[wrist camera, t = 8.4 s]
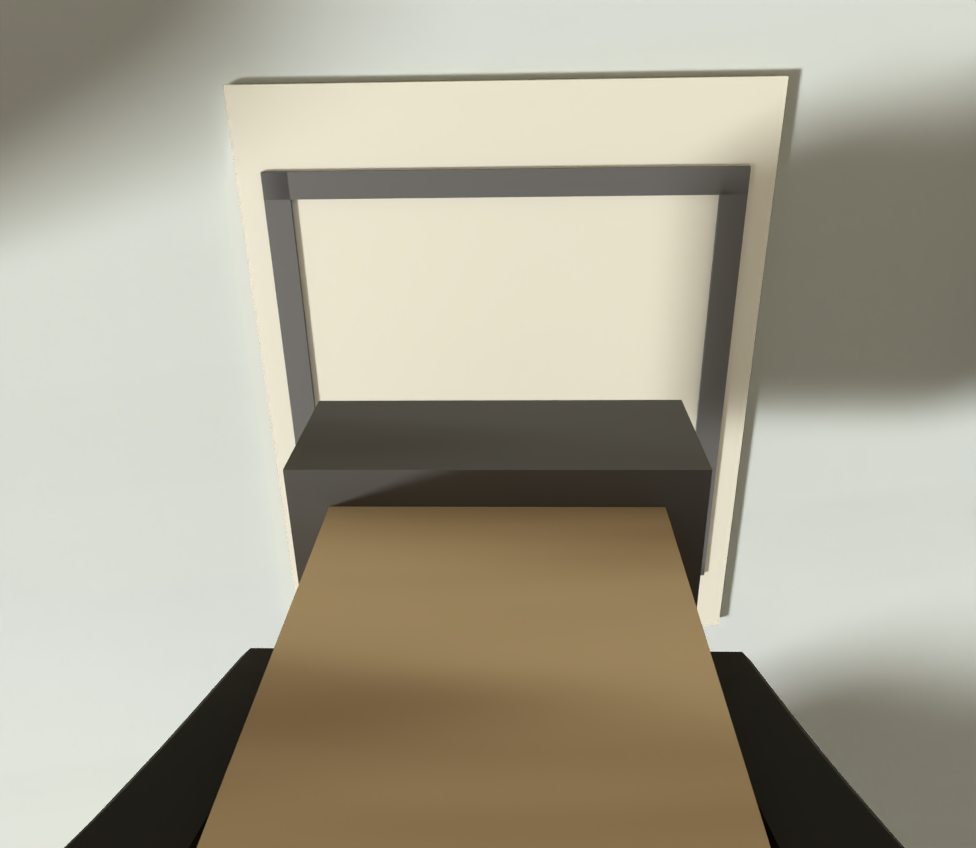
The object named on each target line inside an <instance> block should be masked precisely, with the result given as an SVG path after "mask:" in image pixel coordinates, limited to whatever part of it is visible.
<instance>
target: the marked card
mask: <svg viewBox="0 0 976 848" xmlns="http://www.w3.org/2000/svg"><path fill="white" fill-rule="evenodd" d="M788 78H789V76H736V77H674V78H611V79H548V80H485V81H422V82H360V83H297V84H234V85H223V89H224V96H225V103H226V110H227V118H228V125H229V132H230V139H231V146H232V153H233V160H234V167H235V174H236V181H237V188H238V195H239V202H240V209H241V216H242V223H243V230H244V237H245V244H246V251H247V258H248V266H249V273H250V280H251V287H252V294H253V301H254V308H255V315H256V322H257V329H258V336H259V343H260V350H261V357H262V364H263V371H264V378H265V385H266V392H267V399H268V406H269V414H270V421H271V428H272V435H273V442H274V449H275V456H276V463H277V470H278V477H279V484H280V491H281V498H282V505H283V512H284V519H285V526H286V533H287V540H288V547H289V554H290V562H291V569H292V576H293V583H294V590H295V593H296V591H297V588H298V586H299V583H298V576H297V569H296V561H295V554H294V547H293V540H292V533H291V525H290V518H289V511H288V504H287V497H286V489H285V482H284V475H283V468H284V467H285V465H286V463H287V461H288V459H289V457H290V455H291V453H292V451H293V449H294V448H295V446H296V444H297V442H298V440H299V438H300V436H301V434H302V432H303V430H304V428H305V427H306V425H307V423H308V421H309V419H310V417H311V415H312V413H313V411H314V409H315V408H316V406H317V404H318V402H319V401H405V400H682V402H683V404H684V407H685V409H686V411H687V413H688V416H689V418H690V420H691V422H692V425H693V427H694V429H695V432H696V434H697V436H698V438H699V441H700V443H701V445H702V447H703V450H704V452H705V454H706V457H707V459H708V461H709V463H710V466H711V468H712V478H711V487H710V496H709V505H708V514H707V522H706V531H705V540H704V549H703V558H702V567H701V576H700V584H699V593H698V602H697V611H698V614H699V617H700V620H701V624H702V625H719V617H720V609H721V602H722V594H723V586H724V578H725V570H726V562H727V555H728V547H729V539H730V531H731V523H732V516H733V508H734V500H735V492H736V484H737V476H738V469H739V461H740V453H741V445H742V437H743V430H744V422H745V414H746V406H747V398H748V390H749V383H750V375H751V367H752V359H753V351H754V344H755V336H756V328H757V320H758V312H759V304H760V297H761V289H762V281H763V273H764V265H765V258H766V250H767V242H768V234H769V226H770V218H771V211H772V203H773V195H774V187H775V179H776V172H777V164H778V156H779V148H780V140H781V132H782V125H783V117H784V109H785V101H786V93H787V86H788Z"/></svg>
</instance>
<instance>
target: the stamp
mask: <svg viewBox="0 0 976 848" xmlns="http://www.w3.org/2000/svg"><path fill="white" fill-rule="evenodd" d="M283 475H284V482H285V489H286V497H287V504H288V511H289V518H290V525H291V533H292V540H293V547H294V554H295V561H296V569H297V576H298V583H299V586H298V588H297V591H296V593H295V596H294V599H293V601H292V604H291V606H290V609H289V611H288V614H287V617H286V619H285V622H284V624H283V627H282V629H281V632H280V635H279V637H278V640H277V642H276V645H275V647H274V650H273V653H272V655H271V658H270V660H269V663H268V665H267V668H266V671H265V673H264V676H263V678H262V681H261V683H260V686H259V689H258V691H257V694H256V696H255V699H254V701H253V704H252V707H251V709H250V712H249V714H248V717H247V719H246V722H245V725H244V727H243V730H242V732H241V735H240V737H239V740H238V743H237V745H236V748H235V750H234V753H233V755H232V758H231V761H230V763H229V766H228V768H227V771H226V773H225V776H224V779H223V781H222V784H221V786H220V789H219V791H218V794H217V797H216V799H215V802H214V804H213V807H212V809H211V812H210V815H209V817H208V820H207V822H206V825H205V827H204V830H203V833H202V835H201V838H200V840H199V843H198V845H197V848H771V847H770V844H769V841H768V837H767V834H766V831H765V828H764V824H763V821H762V818H761V815H760V811H759V808H758V805H757V802H756V798H755V795H754V792H753V789H752V786H751V782H750V779H749V776H748V773H747V769H746V766H745V763H744V760H743V756H742V753H741V750H740V747H739V743H738V740H737V737H736V734H735V731H734V727H733V724H732V721H731V718H730V714H729V711H728V708H727V705H726V701H725V698H724V695H723V692H722V688H721V685H720V682H719V679H718V675H717V672H716V669H715V666H714V663H713V659H712V656H711V653H710V650H709V646H708V643H707V640H706V637H705V633H704V630H703V627H702V624H701V620H700V617H699V614H698V611H697V602H698V593H699V584H700V576H701V567H702V558H703V549H704V540H705V531H706V522H707V514H708V505H709V496H710V487H711V478H712V468H711V466H710V463H709V461H708V459H707V457H706V454H705V452H704V450H703V447H702V445H701V443H700V441H699V438H698V436H697V434H696V432H695V429H694V427H693V425H692V422H691V420H690V418H689V416H688V413H687V411H686V409H685V407H684V404H683V402H682V400H405V401H319V402H318V404H317V406H316V408H315V409H314V411H313V413H312V415H311V417H310V419H309V421H308V423H307V425H306V427H305V428H304V430H303V432H302V434H301V436H300V438H299V440H298V442H297V444H296V446H295V448H294V449H293V451H292V453H291V455H290V457H289V459H288V461H287V463H286V465H285V467H284V468H283Z"/></svg>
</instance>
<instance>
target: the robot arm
mask: <svg viewBox="0 0 976 848" xmlns="http://www.w3.org/2000/svg"><path fill="white" fill-rule="evenodd" d="M273 650H274V648H250V649H249V650H248V651H247V652H246V653H245V654H244V655H243V656H242V657H241V658H240V659H239V660H238V661H237V662H236V663H235V664H234V666H233V667H232V668H231V669H230V670H229V671H228V672H227V673H226V675H225V676H224V677H223V678H222V679H221V680H220V681H219V683H218V684H217V685H216V686H215V687H214V688H213V689H212V690H211V692H210V693H209V694H208V695H207V696H206V697H205V698H204V700H203V701H202V702H201V703H200V704H199V705H198V706H197V708H196V709H195V710H194V711H193V712H192V713H191V714H190V715H189V717H188V718H187V719H186V720H185V721H184V722H183V723H182V724H181V725H180V727H179V728H178V729H177V730H176V731H175V732H174V733H173V734H172V735H171V737H170V738H169V739H168V740H167V741H166V742H165V743H164V744H163V745H162V747H161V748H160V749H159V750H158V751H157V752H156V753H155V754H154V755H153V756H152V757H151V758H150V759H149V761H148V762H147V763H146V764H145V765H144V766H143V767H142V768H141V769H140V770H139V771H138V772H137V773H136V774H135V775H134V777H133V778H132V779H131V780H130V781H129V782H128V783H127V784H126V785H125V786H124V787H123V788H122V789H121V790H120V791H119V792H118V794H117V795H116V796H115V797H114V798H113V799H112V800H111V801H110V802H109V803H108V804H107V805H106V806H105V807H104V808H103V809H102V810H101V812H100V813H99V814H98V815H97V816H96V817H95V818H94V819H93V820H92V821H91V822H90V823H89V824H88V825H87V826H86V827H85V828H84V829H83V830H82V831H81V832H80V833H79V834H78V835H77V836H76V837H75V838H74V839H73V840H72V841H71V842H70V843H69V844H67V845H66V846H65V847H64V848H197V845H198V843H199V840H200V838H201V835H202V833H203V830H204V827H205V825H206V822H207V820H208V817H209V815H210V812H211V809H212V807H213V804H214V802H215V799H216V797H217V794H218V791H219V789H220V786H221V784H222V781H223V779H224V776H225V773H226V771H227V768H228V766H229V763H230V761H231V758H232V755H233V753H234V750H235V748H236V745H237V743H238V740H239V737H240V735H241V732H242V730H243V727H244V725H245V722H246V719H247V717H248V714H249V712H250V709H251V707H252V704H253V701H254V699H255V696H256V694H257V691H258V689H259V686H260V683H261V681H262V678H263V676H264V673H265V671H266V668H267V665H268V663H269V660H270V658H271V655H272V653H273ZM710 653H711V656H712V659H713V663H714V666H715V669H716V672H717V675H718V679H719V682H720V685H721V688H722V692H723V695H724V698H725V701H726V705H727V708H728V711H729V714H730V718H731V721H732V724H733V727H734V731H735V734H736V737H737V740H738V743H739V747H740V750H741V753H742V756H743V760H744V763H745V766H746V769H747V773H748V776H749V779H750V782H751V786H752V789H753V792H754V795H755V798H756V802H757V805H758V808H759V811H760V815H761V818H762V821H763V824H764V828H765V831H766V834H767V837H768V841H769V844H770V847H771V848H904V847H903V846H902V845H901V843H900V842H899V841H898V840H897V839H896V838H895V837H894V836H893V834H892V833H891V832H890V831H889V830H888V829H887V828H886V826H885V825H884V824H883V823H882V822H881V821H880V819H879V818H878V817H877V816H876V815H875V814H874V813H873V811H872V810H871V809H870V808H869V807H868V806H867V804H866V803H865V802H864V801H863V800H862V799H861V798H860V796H859V795H858V794H857V793H856V792H855V791H854V789H853V788H852V787H851V786H850V785H849V784H848V783H847V781H846V780H845V779H844V778H843V777H842V775H841V774H840V773H839V772H838V771H837V769H836V768H835V767H834V766H833V765H832V763H831V762H830V761H829V760H828V759H827V757H826V756H825V755H824V754H823V752H822V751H821V750H820V749H819V747H818V746H817V745H816V744H815V742H814V741H813V740H812V739H811V738H810V736H809V735H808V734H807V733H806V731H805V730H804V729H803V728H802V726H801V725H800V724H799V723H798V721H797V720H796V719H795V718H794V716H793V715H792V714H791V712H790V711H789V710H788V709H787V707H786V706H785V705H784V703H783V702H782V701H781V700H780V698H779V697H778V696H777V694H776V693H775V692H774V691H773V689H772V688H771V687H770V685H769V684H768V683H767V681H766V680H765V679H764V678H763V676H762V675H761V674H760V672H759V671H758V670H757V668H756V667H755V666H754V664H753V663H752V662H751V661H750V660H749V659H748V658H747V657H746V656H745V655H744V654H743V653H742V652H710Z"/></svg>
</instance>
